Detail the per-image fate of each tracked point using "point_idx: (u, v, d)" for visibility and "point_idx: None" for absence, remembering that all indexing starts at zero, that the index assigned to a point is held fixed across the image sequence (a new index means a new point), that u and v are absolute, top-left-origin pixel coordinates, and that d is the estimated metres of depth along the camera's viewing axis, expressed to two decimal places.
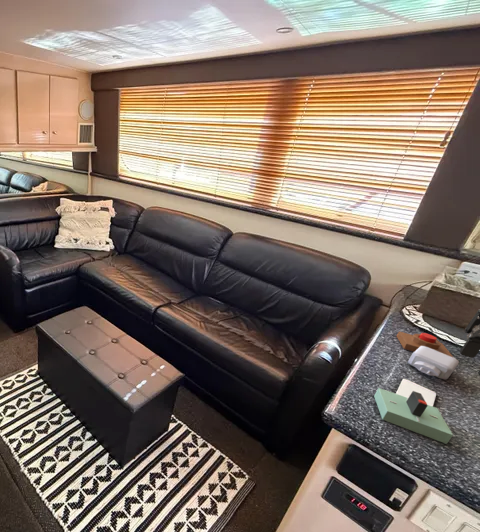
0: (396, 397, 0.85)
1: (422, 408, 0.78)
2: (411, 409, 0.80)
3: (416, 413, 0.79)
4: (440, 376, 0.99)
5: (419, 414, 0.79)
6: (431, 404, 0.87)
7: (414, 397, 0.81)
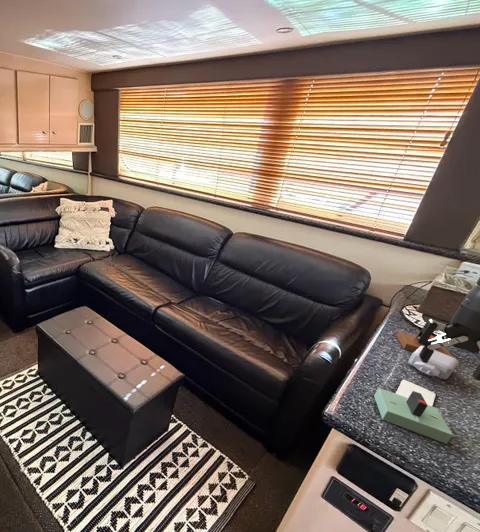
0: (396, 397, 0.85)
1: (422, 408, 0.78)
2: (411, 409, 0.80)
3: (416, 413, 0.79)
4: (440, 376, 0.99)
5: (419, 414, 0.79)
6: (430, 405, 0.87)
7: (414, 397, 0.81)
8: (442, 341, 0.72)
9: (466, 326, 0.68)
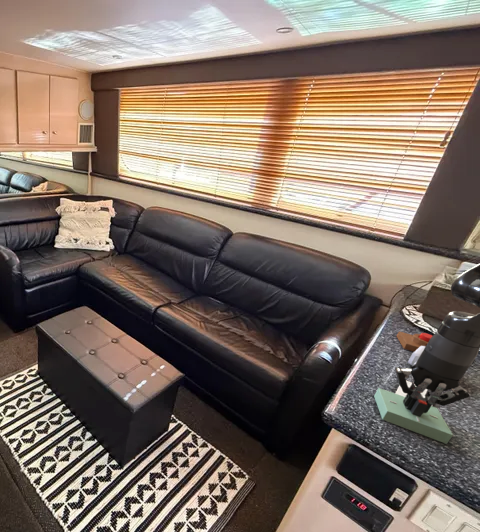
0: (396, 397, 0.85)
1: (422, 408, 0.78)
2: (411, 409, 0.80)
3: (416, 413, 0.79)
4: None
5: (419, 414, 0.79)
6: None
7: None
8: (416, 388, 0.79)
9: (430, 371, 0.75)
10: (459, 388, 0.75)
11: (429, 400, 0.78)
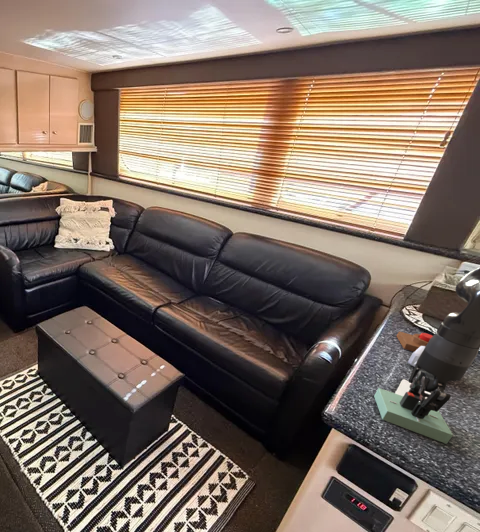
0: (396, 397, 0.85)
1: (405, 397, 0.81)
2: None
3: (401, 402, 0.82)
4: None
5: (401, 403, 0.82)
6: None
7: None
8: None
9: None
10: (437, 388, 0.74)
11: (419, 400, 0.78)
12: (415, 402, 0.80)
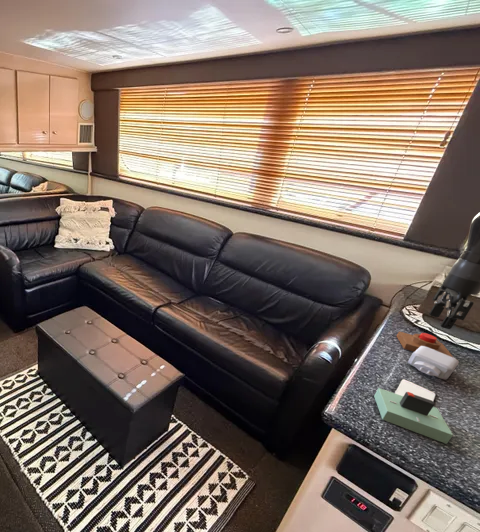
0: (396, 397, 0.85)
1: (405, 397, 0.81)
2: None
3: (401, 402, 0.82)
4: (440, 376, 0.99)
5: (401, 403, 0.82)
6: None
7: None
8: None
9: None
10: None
11: (448, 313, 0.96)
12: (415, 402, 0.80)
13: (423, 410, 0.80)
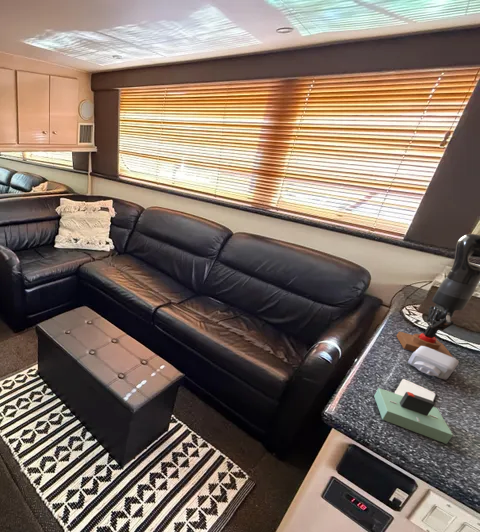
0: (396, 397, 0.85)
1: (405, 397, 0.81)
2: None
3: (401, 402, 0.82)
4: (440, 376, 0.99)
5: (401, 403, 0.82)
6: None
7: None
8: None
9: None
10: (445, 317, 1.06)
11: (430, 324, 1.11)
12: (415, 402, 0.80)
13: (423, 410, 0.80)
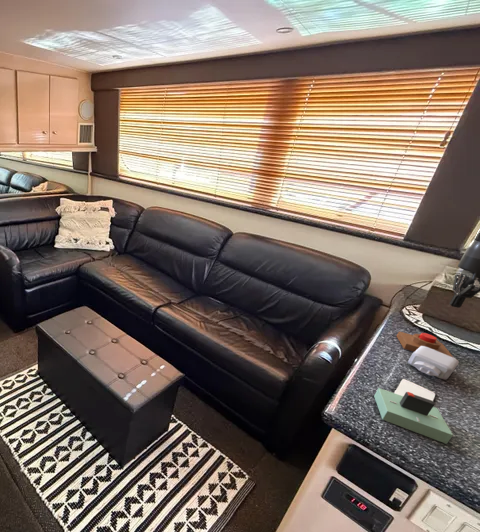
0: (396, 397, 0.85)
1: (405, 397, 0.81)
2: None
3: (401, 402, 0.82)
4: (440, 376, 0.99)
5: (401, 403, 0.82)
6: None
7: None
8: None
9: None
10: (474, 283, 0.97)
11: (457, 292, 1.03)
12: (415, 402, 0.80)
13: (423, 410, 0.80)
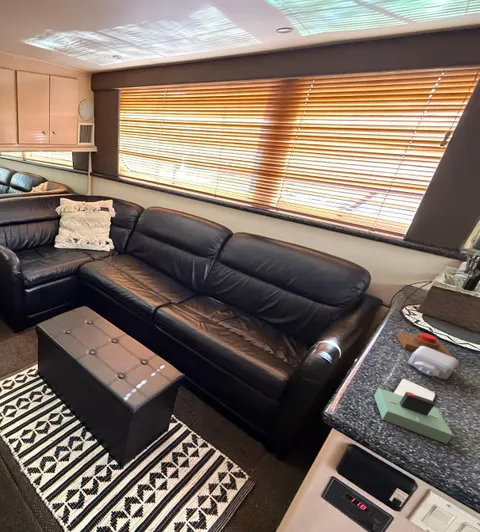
0: (396, 397, 0.85)
1: (405, 397, 0.81)
2: None
3: (401, 402, 0.82)
4: (440, 376, 0.99)
5: (401, 403, 0.82)
6: None
7: None
8: None
9: None
10: None
11: (470, 275, 0.96)
12: (415, 402, 0.80)
13: (423, 410, 0.80)
